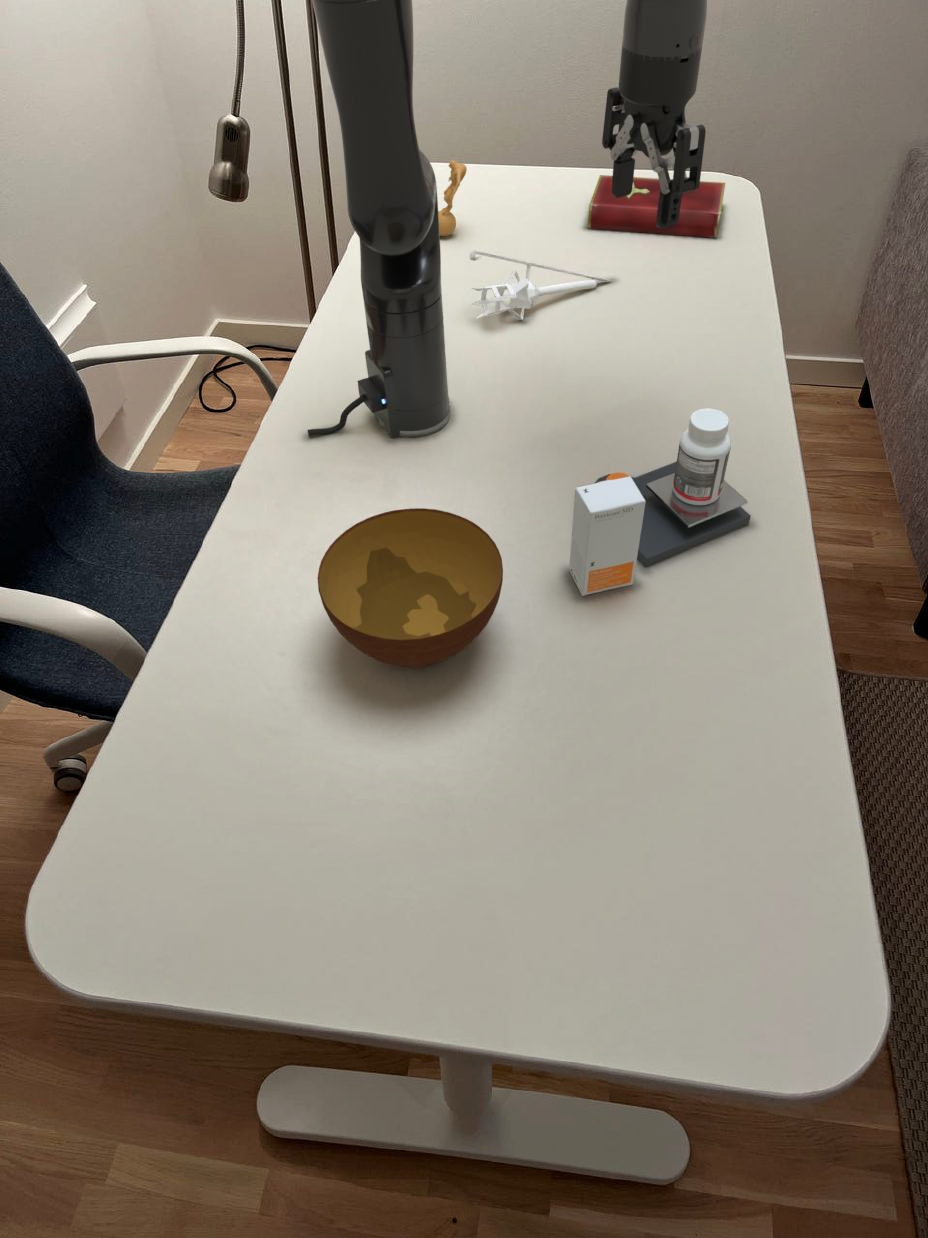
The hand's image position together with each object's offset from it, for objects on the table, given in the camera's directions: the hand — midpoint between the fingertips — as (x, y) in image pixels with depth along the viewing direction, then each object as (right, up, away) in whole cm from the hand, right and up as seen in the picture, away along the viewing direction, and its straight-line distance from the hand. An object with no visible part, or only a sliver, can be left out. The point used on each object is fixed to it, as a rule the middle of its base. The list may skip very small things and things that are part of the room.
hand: (643, 210), depth 100 cm
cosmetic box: (-4, -40, +1) cm, 40 cm away
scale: (+4, -32, +7) cm, 33 cm away
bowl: (-24, -46, -4) cm, 52 cm away
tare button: (-2, -30, +6) cm, 30 cm away
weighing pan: (+7, -30, +4) cm, 31 cm away
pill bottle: (+7, -30, +4) cm, 31 cm away
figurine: (-21, +20, +55) cm, 63 cm away
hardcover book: (+13, +23, +56) cm, 63 cm away
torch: (-8, +2, +39) cm, 40 cm away
